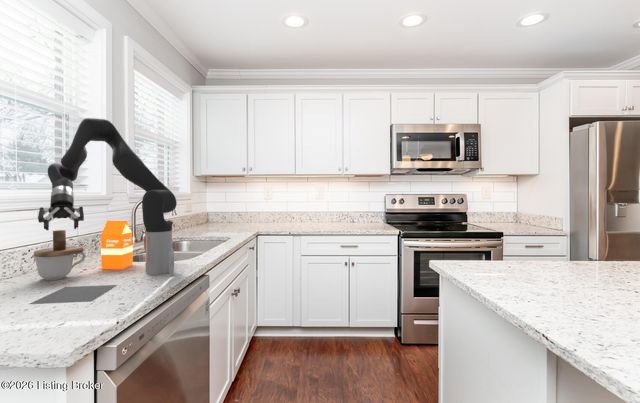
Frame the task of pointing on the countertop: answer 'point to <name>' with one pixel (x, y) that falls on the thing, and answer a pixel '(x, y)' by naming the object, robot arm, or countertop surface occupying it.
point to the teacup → (56, 266)
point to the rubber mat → (75, 294)
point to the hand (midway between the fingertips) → (61, 228)
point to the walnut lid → (58, 246)
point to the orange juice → (116, 245)
